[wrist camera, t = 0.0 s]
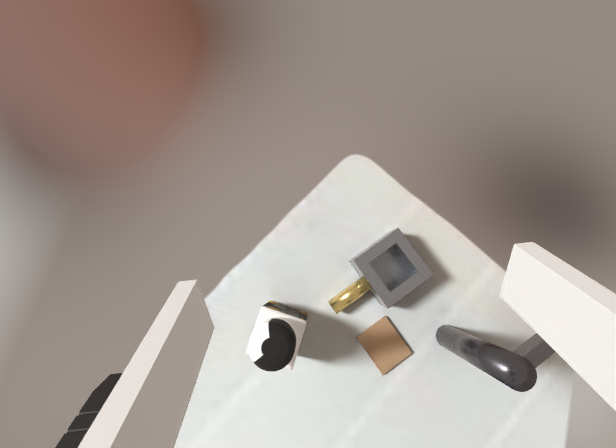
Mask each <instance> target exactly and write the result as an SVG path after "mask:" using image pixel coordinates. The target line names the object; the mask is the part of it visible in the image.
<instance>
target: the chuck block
mask: <svg viewBox="0 0 616 448" xmlns="http://www.w3.org/2000/svg"><path fill="white" fill-rule="evenodd" d="M349 262H350V263H351V265H352V266H353V267H354V269H355V270H356V271H357V273H358V274H359V276H360V277H361V278H360V279H359V280H357V281H356V282H354V283H353V284H352V285H350V286H349V287H348V288H346V289H345V290H343V291H342V292H341V293H339V294H338V295H337V296H335V297H334V298H332V299H331V300H330V301H328V302H329V304H330V305H331V307H332V308H333V310H334V311H335V312H336V314H338V313H339V312H340V311H342V310H343V309H344V308H346V307H347V306H349V305H350V304H351V303H353V302H354V301H355V300H357V299H358V298H359V297H361V296H362V295H364V294H365V293H366V292H368V291H369V290H370V291H371V292H372V294H373V295H374V296H375V298H376V299H377V301H378V302H379V303H380V304H381V305H382V306H384V307H386V308H390V307H391V306H392V305H394V304H395V303H396V302H398V301H399V300H400V299H402V298H403V297H404V296H406V295H407V294H408V293H410V292H411V291H413V290H414V289H415V288H417V287H418V286H419V285H421V284H422V283H423V282H425V281H426V280H427V279H429V278H430V277H431V276H433V275H434V274H433V272H432V271H431V270H430V268H429V267H428V266H427V265H426V263H425V262H424V261H423V259H422V258H421V257H420V255H419V254H418V253H417V252H416V250H415V249H414V248H413V246H412V245H411V244H410V242H409V241H408V240H407V239H406V237H405V236H404V235H403V233H402V232H401V231H400V229H399V228H397V229H394V230H392V231H390V232H389V233H387V234H386V235H384V236H383V237H382V238H380V239H379V240H377V241H376V242H375V243H373V244H372V245H370V246H369V247H368V248H366V249H365V250H364V251H362V252H361V253H359V254H358V255H357V256H355V257H354V258H352V259H351V260H350V261H349Z"/></svg>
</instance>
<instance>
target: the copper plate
mask: <svg viewBox="0 0 616 448" xmlns="http://www.w3.org/2000/svg"><path fill="white" fill-rule="evenodd" d="M357 338H358V340H359V341H360V343H361V344H362V346H363V347H364V349H365V350H366V351H367V353H368V354H369V356H370V357H371V359H372V360H373V362H374V363H375V364H376V366H377V367H378V369H379V370H380V372H381V373H382V375H384V374H385V373H387V372H388V371H389V370H391V369H392V368H393V367H395V366H396V365H397V364H399V363H400V362H401V361H402V360H404V359H405V358H406V357H408V356H409V355H410V354H412V352H411V351H410V349H409V348H408V347H407V345H406V344H405V342H404V341H403V340H402V338H401V337H400V335H399V334H398V333H397V331H396V330H395V329H394V327H393V326H392V324H391V323H390V322H389V320H388V319H387V317H386V316H384V317H383V318H382V319H380V320H379V321H378V322H376V323H375V324H374V325H372V326H371V327H369V328H368V329H367V330H365V331H364V332H363V333H361V334H360V335H359V336H357Z"/></svg>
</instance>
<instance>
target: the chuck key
mask: <svg viewBox="0 0 616 448" xmlns="http://www.w3.org/2000/svg"><path fill="white" fill-rule="evenodd" d="M436 338H437V341H438V343H439V344H440V345H441V346H443V347H445V348H446V349H448V350H450V351H451V352H453V353H454V354H456V355H458V356H459V357H461V358H463V359H464V360H466V361H468V362H469V363H471V364H473V365H474V366H476V367H477V368H479V369H481V370H482V371H484V372H486V373H487V374H489V375H491V376H492V377H494V378H496V379H497V380H499V381H501V382H502V383H504V384H505V385H507V386H509V387H510V388H512V389H514V390H516V391H520V392H524V391H528V390H530V389H531V388H532V387H533V386H534V385H535V383H536V380H537V373H536V369H535V368H536V367H537V366H538V365H540V364H541V363H542V362H543V361H545V360H546V359H547V358H548V357H549V356H551V355H552V354H553V353H554V352H556V351H555V350H554V349H553V348H552V347H551V346H550V345H549V344H548V343H547V342H546V341H545V340H544V339H543V338H542V337H541V336H540V335H539V334H538V333H536V334H535V335H534V336H532V337H531V338H530V339H529V340H527V341H526V342H525V343H524V344H522V345H521V346H520V347H519V348H517V349H516V350H515V351H514V352H510V351H508V350H506V349H503V348H501V347H499V346H496V345H494V344H492V343H489V342H487V341H485V340H482V339H480V338H478V337H475V336H473V335H470V334H468V333H466V332H463V331H461V330H459V329H456V328H454V327H452V326H449V325H443V326H441V327H440V328H439V329H438V330H437V333H436Z"/></svg>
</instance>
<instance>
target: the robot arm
mask: <svg viewBox="0 0 616 448" xmlns="http://www.w3.org/2000/svg"><path fill="white" fill-rule="evenodd" d="M499 296H500V297H501V298H502V299H503V300H504V301H505V302H506V303H507V304H508V305H509V306H510V307H511V308H512V309H513V310H514V311H515V312H516V313H517V314H518V315H519V316H520V317H521V318H522V319H523V320H524V321H525V322H526V323H527V324H528V325H529V326H530V327H531V328H532V329H533V330H535V331H536V332H537V333H538V334H539V335H540V336H541V337H542V338H543V339H544V340H545V341H546V342H547V343H548V344H549V345H550V346H551V347H552V348H553V349H554V350H555V351H556V352H557V353H558V354H559V355H560V356H561V357H562V358H563V359H564V360H565V361H566V362H567V363H568V364H569V365H570V366H571V367H572V368H573V369H574V370H575V371H576V372H577V373H578V374H579V375H580V376H581V377H582V378H583V379H584V380H585V381H586V382H587V383H588V384H589V385H590V386H591V387H592V388H593V389H594V390H595V391H596V392H597V393H598V394H599V395H600V396H601V397H602V398H603V399H604V400H605V401H606V402H607V403H608V404H609V405H610V406H611V407H612V408H613V409H614V410H615V411H616V294H615V293H613V292H611V291H610V290H608V289H607V288H605V287H604V286H602V285H600V284H599V283H597V282H596V281H594V280H592V279H591V278H589V277H588V276H586V275H584V274H583V273H581V272H580V271H578V270H576V269H575V268H573V267H572V266H570V265H569V264H567V263H565V262H564V261H562V260H561V259H559V258H557V257H556V256H554V255H553V254H551V253H549V252H548V251H546V250H545V249H543V248H542V247H540V246H538V245H537V244H535V243H533V242H530V243H519V244H514V247H513V250H512V253H511V258H510V260H509V264H508V267H507V271H506V274H505V278H504V281H503V285H502V288H501V292H500V295H499ZM213 330H214V325H213V323H212V320H211V317H210V314H209V312H208V309H207V306H206V303H205V301H204V298H203V295H202V292H201V290H200V287H199V284H198V281H197V280H191V281H181V282H178V283H177V285H176V287H175V288H174V290H173V292H172V293H171V295H170V296H169V298H168V300H167V302H166V303H165V305H164V306H163V308H162V310H161V311H160V313H159V315H158V316H157V318H156V320H155V321H154V323H153V324H152V326H151V328H150V330H149V331H148V333H147V334H146V336H145V338H144V339H143V341H142V343H141V344H140V346H139V348H138V349H137V351H136V352H135V354H134V356H133V357H132V359H131V361H130V363H129V364H128V366H127V367H126V369H125V371H124V372H123V373H118V374H111V375H109V376H108V377H107V379H105V381H103V382H102V383H101V384H100V385H99V386H98V387H97V388H96V389H95V390H94V391H93V392H92V394H91V395H90V397H89V398H88V400H87V401H86V403H85V404H84V406H83V407H82V409H81V410H80V414H79V416H76V418H75V419H74V421H73V422H72V424H71V425H70V427H69V428H68V432H67V433H66V434H64V436H63V437H62V439H61V440H60V442H59V443H58V445H57V446H56V448H174V445H175V442H176V439H177V436H178V433H179V430H180V427H181V424H182V421H183V418H184V416H185V413H186V410H187V407H188V404H189V401H190V398H191V395H192V392H193V389H194V386H195V383H196V380H197V377H198V374H199V371H200V368H201V365H202V362H203V359H204V356H205V353H206V350H207V347H208V344H209V342H210V339H211V336H212V333H213Z"/></svg>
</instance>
